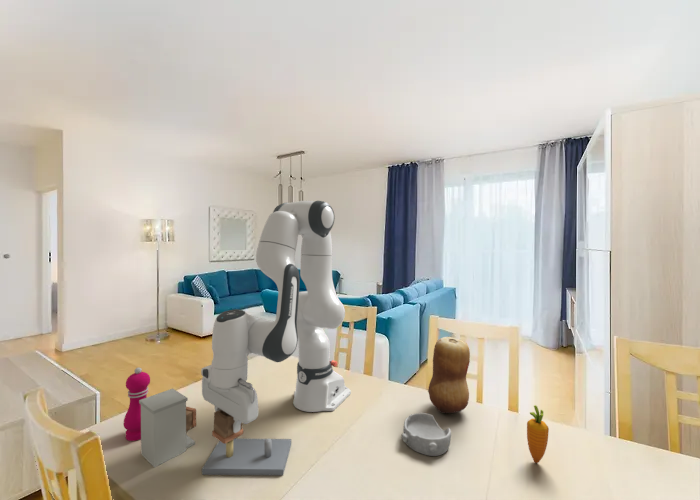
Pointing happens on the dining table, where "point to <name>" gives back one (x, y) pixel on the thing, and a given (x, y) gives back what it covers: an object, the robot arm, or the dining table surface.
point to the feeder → (163, 427)
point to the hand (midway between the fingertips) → (228, 426)
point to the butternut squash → (450, 375)
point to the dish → (425, 434)
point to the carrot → (537, 435)
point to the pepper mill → (135, 403)
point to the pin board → (248, 457)
